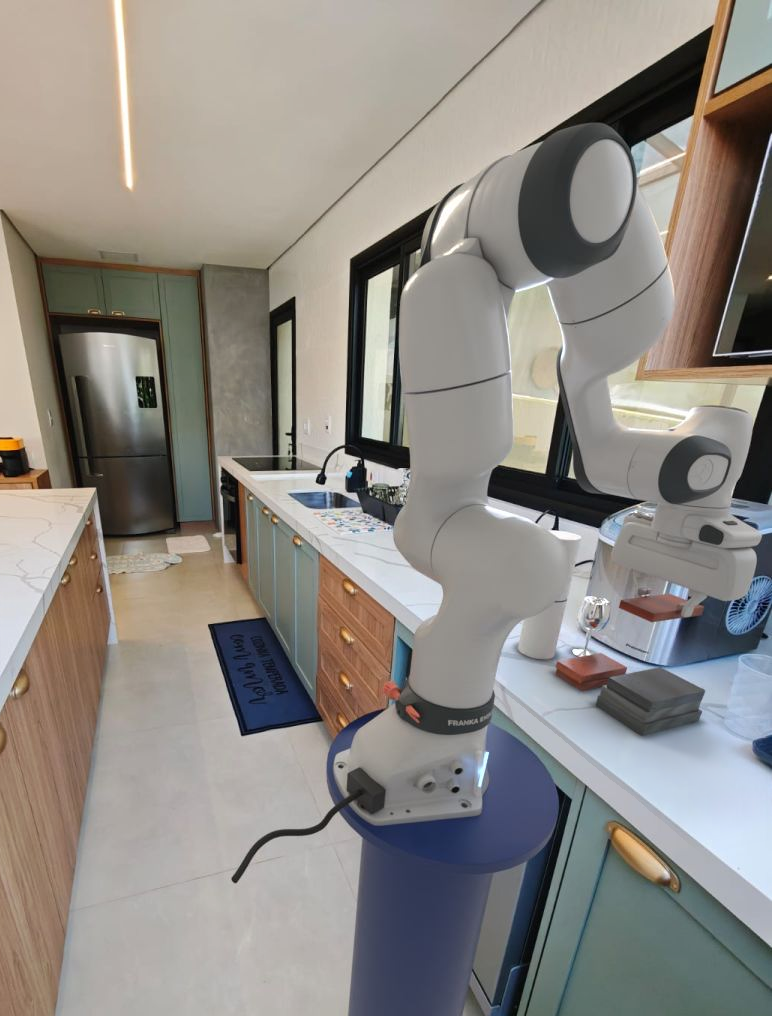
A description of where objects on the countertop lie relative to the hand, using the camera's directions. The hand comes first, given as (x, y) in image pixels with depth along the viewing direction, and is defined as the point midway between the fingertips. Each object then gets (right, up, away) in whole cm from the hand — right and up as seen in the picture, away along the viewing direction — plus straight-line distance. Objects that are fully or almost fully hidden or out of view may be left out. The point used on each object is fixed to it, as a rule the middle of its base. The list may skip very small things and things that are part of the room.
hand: (661, 606), depth 81 cm
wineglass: (0, -10, +24) cm, 26 cm away
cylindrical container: (-10, -10, +25) cm, 28 cm away
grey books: (0, -18, +4) cm, 19 cm away
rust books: (-4, -14, +15) cm, 21 cm away
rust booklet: (0, -1, 0) cm, 1 cm away
